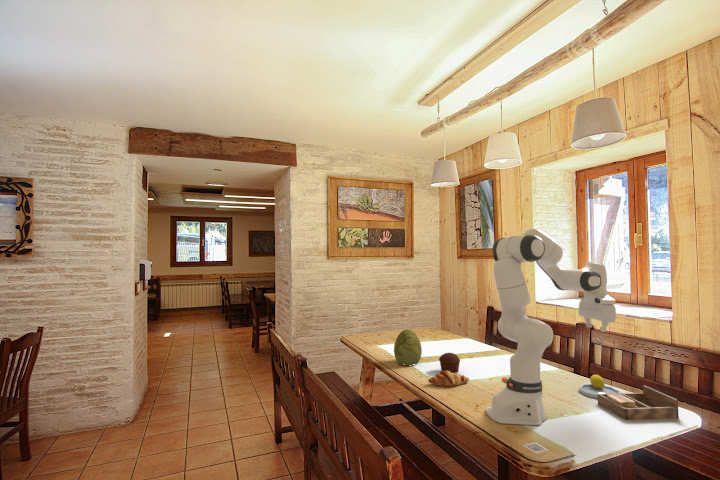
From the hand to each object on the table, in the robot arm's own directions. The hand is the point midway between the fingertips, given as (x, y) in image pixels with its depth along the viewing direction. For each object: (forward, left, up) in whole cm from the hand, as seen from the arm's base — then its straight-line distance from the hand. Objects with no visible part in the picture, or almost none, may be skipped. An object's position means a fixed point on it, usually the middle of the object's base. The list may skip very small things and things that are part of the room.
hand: (596, 329), depth 169 cm
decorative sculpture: (-76, +59, -30) cm, 100 cm away
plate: (+3, +4, -30) cm, 30 cm away
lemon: (+4, +4, -27) cm, 28 cm away
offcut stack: (-1, -16, -30) cm, 34 cm away
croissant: (-61, +21, -30) cm, 72 cm away
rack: (+5, -15, -30) cm, 34 cm away
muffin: (-56, +41, -30) cm, 75 cm away
